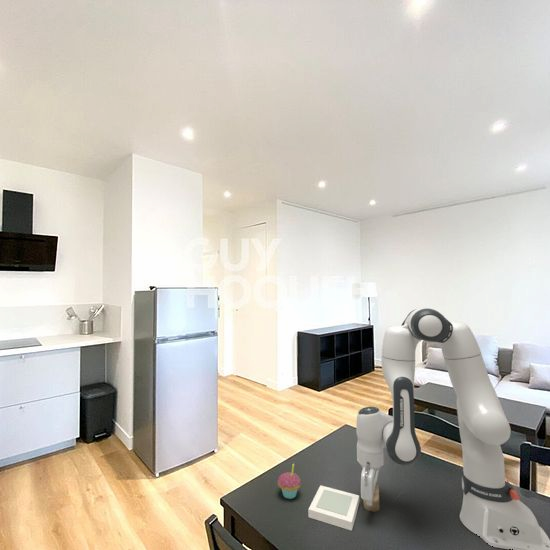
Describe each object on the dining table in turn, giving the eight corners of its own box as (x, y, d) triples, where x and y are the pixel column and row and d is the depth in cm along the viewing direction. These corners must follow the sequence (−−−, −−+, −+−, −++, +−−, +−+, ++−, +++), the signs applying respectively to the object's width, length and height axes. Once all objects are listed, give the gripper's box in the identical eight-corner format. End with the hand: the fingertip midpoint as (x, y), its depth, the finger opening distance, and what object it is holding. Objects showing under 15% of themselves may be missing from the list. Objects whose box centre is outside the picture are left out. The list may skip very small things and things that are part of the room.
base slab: (359, 503, 106) (359, 494, 106) (351, 530, 94) (351, 521, 94) (320, 492, 112) (320, 484, 112) (308, 517, 99) (308, 508, 100)
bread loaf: (380, 503, 106) (379, 482, 106) (378, 513, 101) (377, 491, 102) (364, 499, 108) (364, 479, 109) (362, 508, 103) (361, 487, 104)
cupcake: (305, 492, 112) (304, 458, 113) (293, 505, 105) (293, 469, 106) (285, 484, 117) (285, 452, 118) (272, 496, 110) (272, 462, 111)
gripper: (375, 474, 95) (377, 521, 94) (382, 445, 114) (383, 484, 113) (355, 469, 98) (356, 514, 97) (365, 442, 116) (365, 480, 115)
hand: (371, 498), depth 105 cm, fingers closed on bread loaf, 5 cm apart
